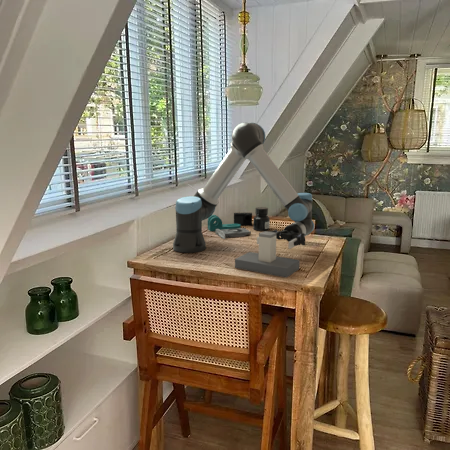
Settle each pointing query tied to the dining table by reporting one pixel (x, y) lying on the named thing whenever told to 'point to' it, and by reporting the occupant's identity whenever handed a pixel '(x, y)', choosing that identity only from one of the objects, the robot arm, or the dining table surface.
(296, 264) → the plate with square hole
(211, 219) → the bracket
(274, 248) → the plug
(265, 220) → the ink bottle
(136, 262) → the dining table surface
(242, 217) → the digital camera
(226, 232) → the graphics card
